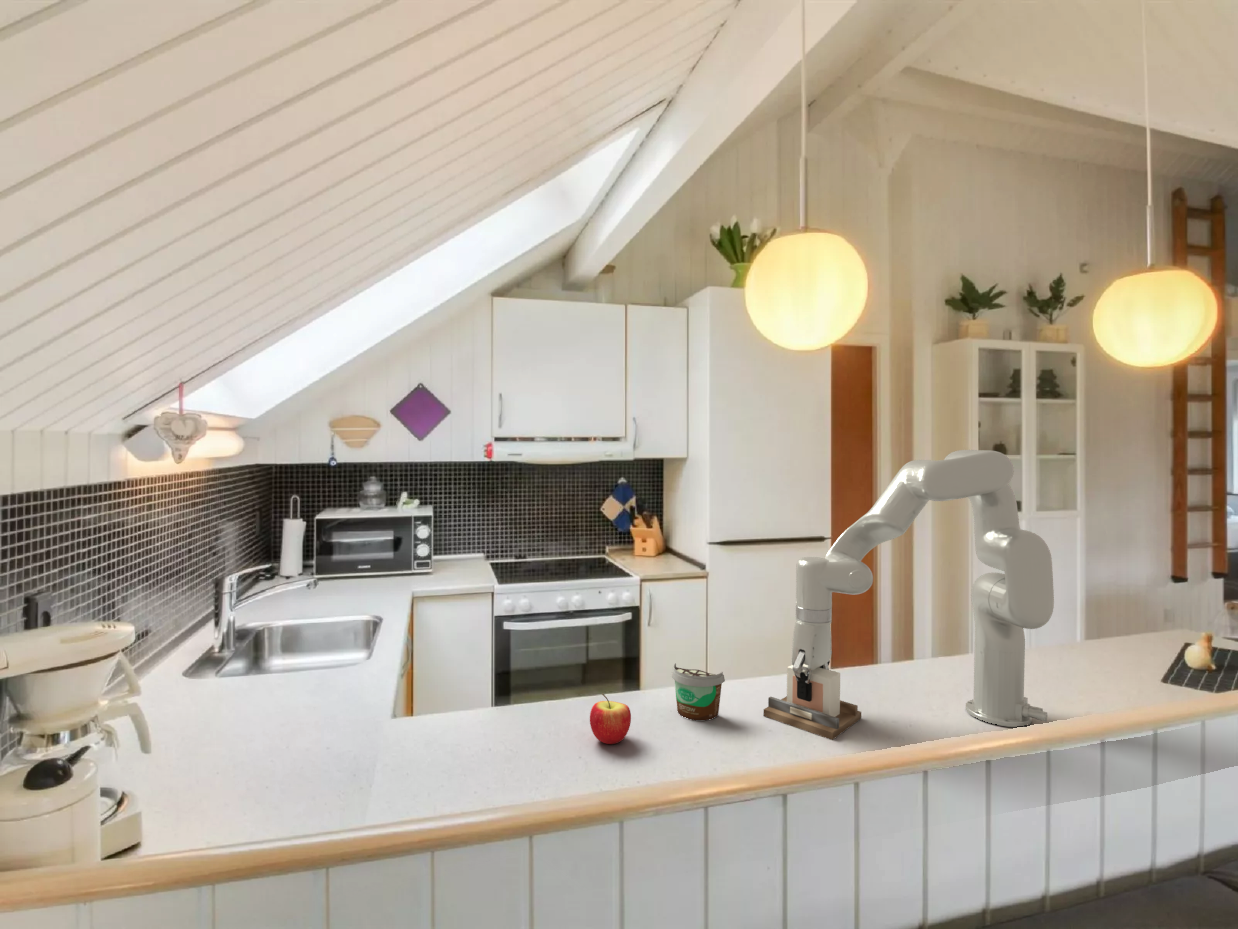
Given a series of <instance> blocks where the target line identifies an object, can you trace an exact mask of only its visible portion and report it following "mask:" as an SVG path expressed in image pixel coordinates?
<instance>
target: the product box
mask: <svg viewBox="0 0 1238 929" xmlns="http://www.w3.org/2000/svg"><path fill="white" fill-rule="evenodd" d="M803 667H807V668H808V665H805V664H803ZM802 672H804V673H805V675H807V671H806V670H803V671H802ZM810 683H812V700H811V701H810V702H808V701H805V700H802V699H799V698H797V680H796V676H795V673H794V671H793V665H792V664H791V665H789V666H787V667H786V696H787V702H789V703H793V704H796V705H799V706H802V707H805V708H808V709H811V710H814V711H818V712H821V713H824V714H827V715H830V716H833V717H836V716H837V715H839V714H840V700H841V672H838V671H834V670H830V669H829V670H827V669H824V668H820V667H818V668H816V669H814V670H812V675H811V680H810Z"/></svg>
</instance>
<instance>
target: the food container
mask: <svg viewBox="0 0 1238 929" xmlns="http://www.w3.org/2000/svg"><path fill="white" fill-rule="evenodd" d="M670 675H671V676H670V677H671V678H672V680H674V689H675V699H676V710H677V711H678V712H677V711H676V712H677V713H678V715H679V714H680V715H679V716H680V717H682V716H683V717H682V718H684V717H686V718H688V719H687V720H690V719H692V720H691V721H696V720H705V721H709V719H711V720H713V719H715V718H714V717H716V718H717V717H718V716H719V712H720V711H719V710H720V703H721V702H720V701H721V694H722V684H723V683H725V682H726V681H725V680H726V679H725V675H724V671H721V672H720V673H718V674H716V673H709V672H706V671H704V670H701V669H688V668H681V667H677V663H674V664H673V667H672V671H671V674H670ZM686 718H685V719H686ZM712 718H713V719H712Z"/></svg>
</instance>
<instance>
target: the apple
mask: <svg viewBox="0 0 1238 929" xmlns="http://www.w3.org/2000/svg"><path fill="white" fill-rule="evenodd" d="M601 695H602V696H603V697H604V698H605V700H600V701H597V702H595V703H594V704H593V705H592V707H591V709H590V713H589V724H590V729H591V731H592V733H593V735H594V737H595V738H596V739H597V741H600V743H603V744H605V745H614V744H615V745H616V744H618V743H620V742H621V741H623V740H624V739H625V737H626V736H627V734H628V732H629V731H630V727H631V723H632V722H631V721H632V713H631V709H630V707H629V706H628V705H627V704H625V703H622V702H618V701H613V700H609V698H607V696H606V695H605V694H604V693H603V692H602V693H601Z"/></svg>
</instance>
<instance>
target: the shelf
mask: <svg viewBox="0 0 1238 929" xmlns="http://www.w3.org/2000/svg"><path fill="white" fill-rule="evenodd" d="M767 701H768V702H767V704H768V706H767V707H765V708H763V717H765V718H768V719H771V720H774V721H776V722H780V723H783V724H785V725H789V726H791V727H794V728H797V729H800V730H802V731H806V732H808V733H811V734H814V735H817V736H820V737H823V738H825V737H826V739H828V738H829V739H828V740H831V741H834V739H836V738H837V737H839V736H840V735H841V734H842V733H844V732H845V731H847V730H848V729H849V728H851V727H852V726H853V725H855V724H856V723H857V722H858V720H859V721H860V720H861V719H862V711H860V710H859V709H858V708H859V707H858V705H857V704H853V703H850V702H847V701H844V700H841V699H840V714H839V715H837V716H836V717H833V716H830V715H827V714H824V713H821V712H818V711H814V710H811V709H808V708H805V707H802V706H799V705H796V704H793V703H789V702H787V695H786V696H784V697H783V698H781V699H779V698H776V697H774V696H769V697H768V700H767ZM835 737H836V738H835Z"/></svg>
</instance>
